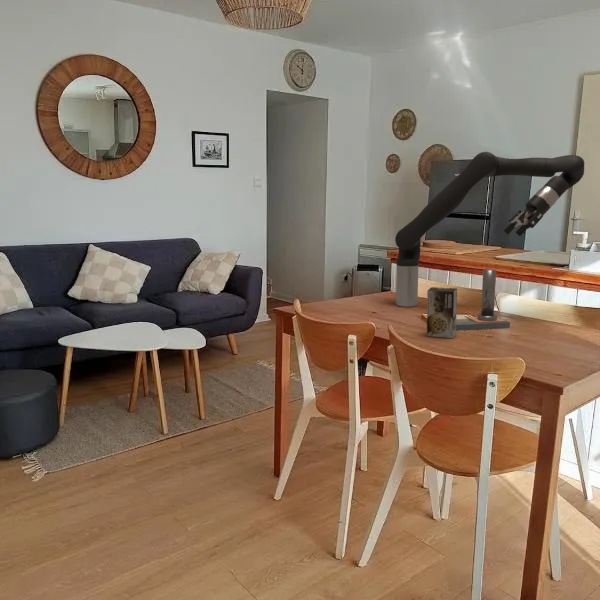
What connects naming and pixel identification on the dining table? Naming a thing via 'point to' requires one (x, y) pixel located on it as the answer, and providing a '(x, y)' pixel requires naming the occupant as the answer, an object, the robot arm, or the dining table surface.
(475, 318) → the button
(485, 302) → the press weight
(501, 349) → the dining table surface
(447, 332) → the coffee box
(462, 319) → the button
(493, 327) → the button board
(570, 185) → the robot arm
